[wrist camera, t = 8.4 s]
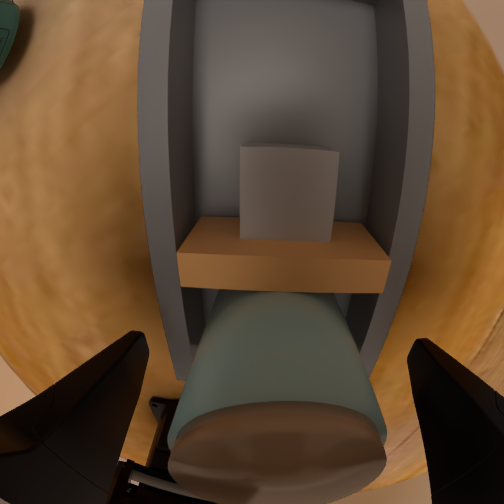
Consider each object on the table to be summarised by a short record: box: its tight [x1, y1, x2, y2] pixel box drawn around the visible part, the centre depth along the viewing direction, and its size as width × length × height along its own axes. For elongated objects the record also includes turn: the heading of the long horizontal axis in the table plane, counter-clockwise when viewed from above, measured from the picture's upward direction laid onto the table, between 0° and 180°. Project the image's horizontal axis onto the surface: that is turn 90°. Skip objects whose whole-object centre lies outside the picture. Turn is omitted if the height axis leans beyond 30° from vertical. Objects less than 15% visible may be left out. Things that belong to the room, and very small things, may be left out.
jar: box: [168, 289, 387, 504], centre depth 9 cm, size 6×6×8 cm
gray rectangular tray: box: [138, 0, 435, 381], centre depth 10 cm, size 18×9×4 cm, turn 179°
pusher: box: [177, 143, 391, 293], centre depth 9 cm, size 4×7×3 cm, turn 89°
